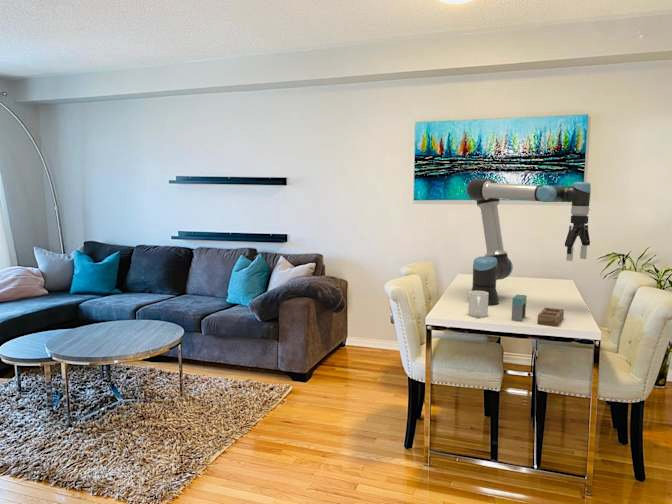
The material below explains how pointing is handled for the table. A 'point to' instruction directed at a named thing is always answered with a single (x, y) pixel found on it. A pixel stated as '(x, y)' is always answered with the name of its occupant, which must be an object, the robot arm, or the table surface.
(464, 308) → the table surface
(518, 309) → the tall teal block
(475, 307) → the mug
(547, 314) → the brown wooden frame
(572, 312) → the table surface
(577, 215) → the robot arm
